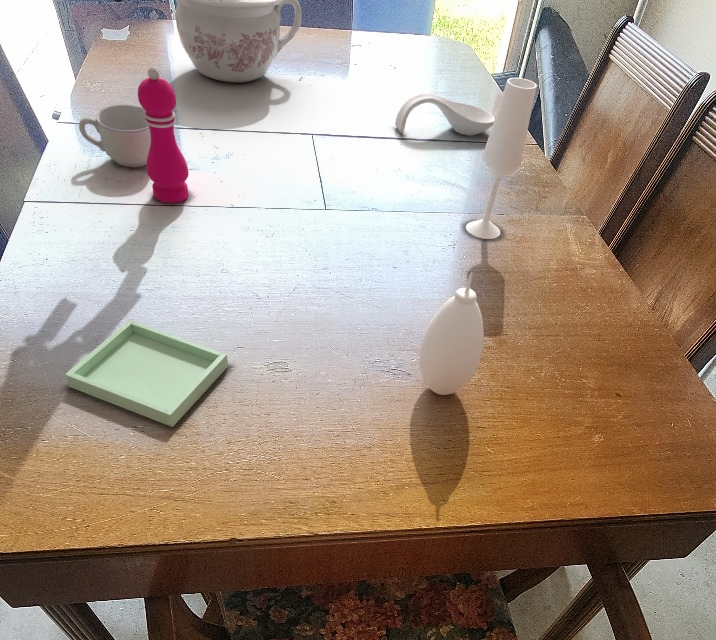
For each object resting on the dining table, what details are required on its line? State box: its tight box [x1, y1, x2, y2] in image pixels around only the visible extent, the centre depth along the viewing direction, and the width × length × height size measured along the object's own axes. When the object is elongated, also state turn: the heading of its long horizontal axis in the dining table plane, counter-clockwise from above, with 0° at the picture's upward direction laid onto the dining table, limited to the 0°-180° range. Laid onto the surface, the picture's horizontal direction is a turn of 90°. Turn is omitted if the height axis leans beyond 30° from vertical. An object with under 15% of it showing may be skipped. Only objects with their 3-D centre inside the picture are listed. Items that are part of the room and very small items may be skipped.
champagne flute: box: [465, 77, 538, 240], centre depth 105 cm, size 7×7×24 cm
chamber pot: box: [175, 0, 303, 84], centre depth 144 cm, size 28×28×21 cm
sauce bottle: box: [419, 272, 485, 396], centre depth 78 cm, size 8×8×18 cm
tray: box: [64, 319, 229, 428], centre depth 80 cm, size 16×14×2 cm
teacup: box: [78, 103, 151, 168], centre depth 115 cm, size 14×11×8 cm
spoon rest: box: [394, 92, 496, 136], centre depth 140 cm, size 24×12×7 cm, turn 105°
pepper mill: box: [137, 66, 190, 204], centre depth 104 cm, size 7×7×20 cm
